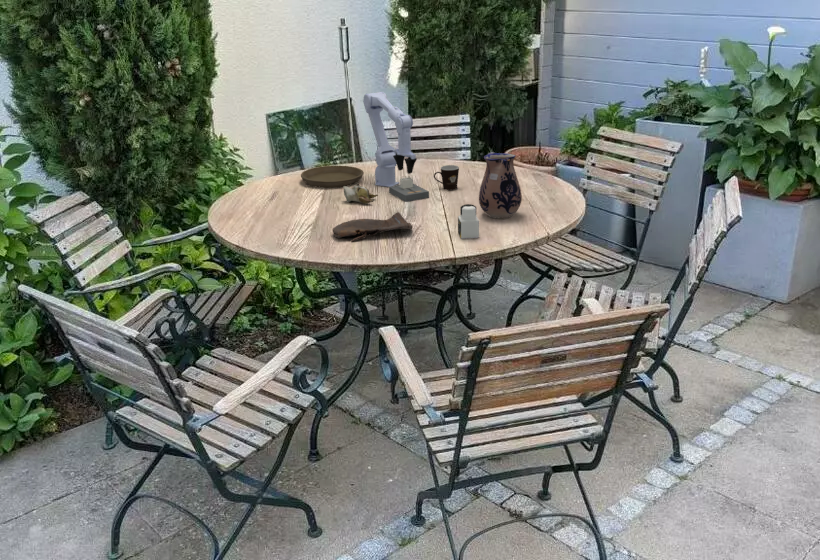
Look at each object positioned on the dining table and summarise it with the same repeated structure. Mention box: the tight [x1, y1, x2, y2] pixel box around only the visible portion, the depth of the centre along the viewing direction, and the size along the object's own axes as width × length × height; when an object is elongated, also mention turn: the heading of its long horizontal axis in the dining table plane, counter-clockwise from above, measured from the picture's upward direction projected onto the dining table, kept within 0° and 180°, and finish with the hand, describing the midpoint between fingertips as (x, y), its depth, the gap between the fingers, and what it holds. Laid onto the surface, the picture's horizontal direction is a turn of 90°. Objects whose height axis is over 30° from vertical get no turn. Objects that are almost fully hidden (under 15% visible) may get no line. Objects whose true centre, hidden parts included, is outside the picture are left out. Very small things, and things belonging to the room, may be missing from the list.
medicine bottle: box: [457, 203, 480, 240], centre depth 275 cm, size 7×7×12 cm
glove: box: [332, 211, 413, 243], centre depth 283 cm, size 32×20×5 cm, turn 102°
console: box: [388, 183, 430, 203], centre depth 330 cm, size 17×12×3 cm
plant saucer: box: [300, 165, 364, 189], centre depth 357 cm, size 31×31×5 cm
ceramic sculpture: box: [342, 183, 379, 204], centre depth 321 cm, size 11×9×15 cm
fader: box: [399, 177, 414, 189], centre depth 330 cm, size 3×5×4 cm, turn 117°
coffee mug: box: [433, 164, 460, 191], centre depth 337 cm, size 12×9×10 cm
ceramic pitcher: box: [478, 151, 523, 219], centre depth 295 cm, size 18×21×25 cm
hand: (405, 171), depth 333 cm, fingers open, 7 cm apart
